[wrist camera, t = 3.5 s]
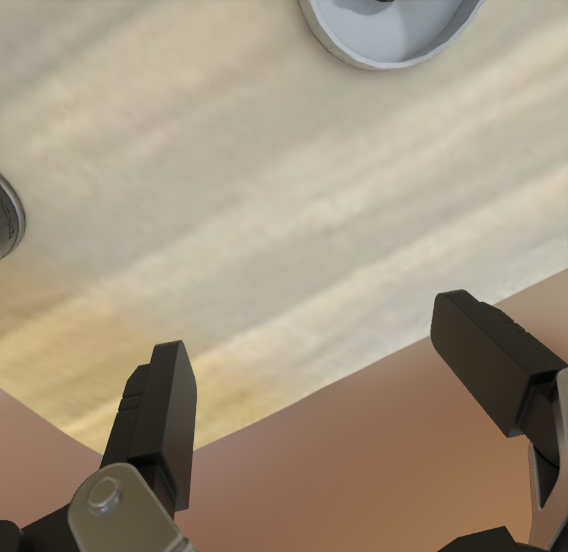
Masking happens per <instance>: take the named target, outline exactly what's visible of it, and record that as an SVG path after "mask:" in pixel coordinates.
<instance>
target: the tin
mask: <svg viewBox="0 0 568 552" xmlns="http://www.w3.org/2000/svg"><path fill="white" fill-rule="evenodd" d="M298 1H299V4H300V7H301V9H302V12H303V15H304V17H305V19H306V21H307V23H308V25H309V27H310V29H311V30H312V31H313V33H314V34H315V36H316V37H317V39H318V40H319V41H320V42H321V43H322V45H323V46H324V47H325V48H326V49H327V50H328V51H329V52H331V53H332V54H333V55H334V56H335V57H337V58H338V59H340V60H342V61H343V62H345V63H346V64H349V65H352V66H354V67H357V68H362V69H365V70H394V69H403V68H406V67H409V66H412V65H416V64H419V63H422V62H425V61H427V60H429V59H430V58H432V57H433V56H435V55H436V54H438V53H439V52H441V51H442V50H444V49H446V48H447V47H449V46H450V45H451V44H452V43H453V42H454V41H455V40H456V39H457V38H458V37H459V35H460V34H461V33H462V32H463V31H464V30H465V29H466V28H467V27H468V26H469V25H470V24H471V22H472V21H473V19H474V18H475V16H476V14H477V13H478V11H479V10H480V8H481V7H482V5H483V3H484V2H485V0H394V1H392V2H379V1H376V0H298Z"/></svg>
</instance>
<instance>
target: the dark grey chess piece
mask: <svg viewBox="0 0 568 552" xmlns="http://www.w3.org/2000/svg"><path fill="white" fill-rule="evenodd" d="M376 1H379V2H392V1H394V0H376Z"/></svg>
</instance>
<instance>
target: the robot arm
mask: <svg viewBox="0 0 568 552" xmlns="http://www.w3.org/2000/svg"><path fill="white" fill-rule="evenodd" d="M24 229H25V218H24V212H23V209H22V206H21V204H20V201H19V199H18V197H17V196H16V194H15V192H14V191H13V189H12V188H11V187H10V186H9V184H8V183H7V182H6V181H5V180H4V179H3V178H2V177H1V176H0V259H2V258H4V257H5V256H6V255H8V254H9V253H10V252H12V251H13V250H14V249H15V248H16V247H17V246H18V244H19V243H20V241H21V239H22V237H23V234H24ZM430 334H431V340H432V343H433V346H434V347H435V349H436V351H437V352H438V353H439V355H440V356H441V357H442V358H443V360H444V361H445V362H446V363H447V364H448V366H449V367H450V368H451V369H452V371H453V372H454V373H455V374H456V375H457V377H458V378H459V379H460V380H461V382H462V383H463V384H464V385H465V387H466V388H467V389H468V390H469V392H470V393H471V394H472V395H473V397H474V398H475V399H476V400H477V402H478V403H479V404H480V405H481V406H482V407H483V409H484V410H485V411H486V412H487V414H488V415H489V416H490V418H491V419H492V420H493V421H494V422H495V424H496V425H497V426H498V427H499V429H500V430H501V431H502V432H503V434H504V435H505V436H506V437H507V438H510V437H515V436H519V435H524V434H525V435H526V436H527V438H528V439H529V440H530V444H529V446H528V459H529V473H530V488H531V503H532V525H531V531H530V536H529V544H523V543H518V542H515V541H514V539H513V538H512V536H511V535H510V533H509V531H508V530H507V528H506V527H505V526H502V527H498V528H494V529H490V530H486V531H482V532H478V533H474V534H470V535H466V536H462V537H458V538H456V539H455V540H453V541H452V542H450V543H449V544H448V545H446V546H445V547H443V548H442V549H440V550H439V551H438V552H568V364H567V363H566V362H565V361H563V360H562V359H560V357H558V356H557V355H556V354H554V353H553V352H552V351H551V350H550V349H548V348H547V347H546V346H545V345H543V344H542V343H541V342H539V341H538V340H537V339H536V338H535V337H533V336H532V335H531V334H530V333H529V332H525V329H524V328H522V327H521V326H520V325H519V324H517V323H514V321H513V320H512V319H511V318H510V317H509V316H507V315H506V314H505V313H504V312H502V311H501V310H500V309H497V308H495V307H493V306H491V305H489V304H487V303H484V302H479V301H478V300H477V299H475V298H474V297H473V296H472V295H471V294H469V293H468V292H467V291H466V290H463V289H460V290H455V291H449V292H444V293H439V294H437V296H436V298H435V302H434V309H433V317H432V324H431V332H430ZM122 397H123V399H121V402H120V405H119V408H118V411H119V412H118V413H117V415H116V418H115V421H114V424H113V427H112V431H111V434H110V437H109V440H108V443H107V446H106V450H105V453H104V456H103V459H102V462H101V465H100V468H99V470H98V471H96V472H95V473H93V474H92V475H91V476H90V477H88V478H87V479H86V480H85V481H84V482H83V483H82V484H81V486H80V487H79V488H78V489H77V491H76V492H75V494H74V496H73V498H72V500H71V502H70V503H69V504H67V505H65V506H64V507H62V508H60V509H58V510H56V511H55V512H53V513H51V514H49V515H47V516H45V517H43V518H41V519H39V520H37V521H35V522H33V523H31V524H30V525H28V526H26V527H24V528H22V529H20V528H19V527H18V526H17V525H16V524H15V523H13V522H11V521H8V520H0V552H198V551H197V549H196V548H195V547H194V545H193V544H192V543H191V542H190V540H189V539H188V538H185V536H184V535H183V534H182V533H181V531H180V530H179V528H178V527H177V525H176V524H175V523H174V513H175V512H177V511H181V510H186V509H188V507H189V494H190V482H191V468H192V455H193V442H194V429H195V416H196V403H197V387H196V381H195V376H194V373H193V370H192V367H191V364H190V361H189V358H188V355H187V352H186V349H185V346H184V343H183V342H182V340H179V341H173V342H168V343H163V344H157V345H155V347H154V349H153V353H152V357H151V361H150V364H145V365H140V366H138V367H137V369H136V370H135V371H134V373H133V374H132V375H131V376H130V378H129V379H128V380H127V383H126V386H125V389H124V393H123V396H122Z"/></svg>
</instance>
